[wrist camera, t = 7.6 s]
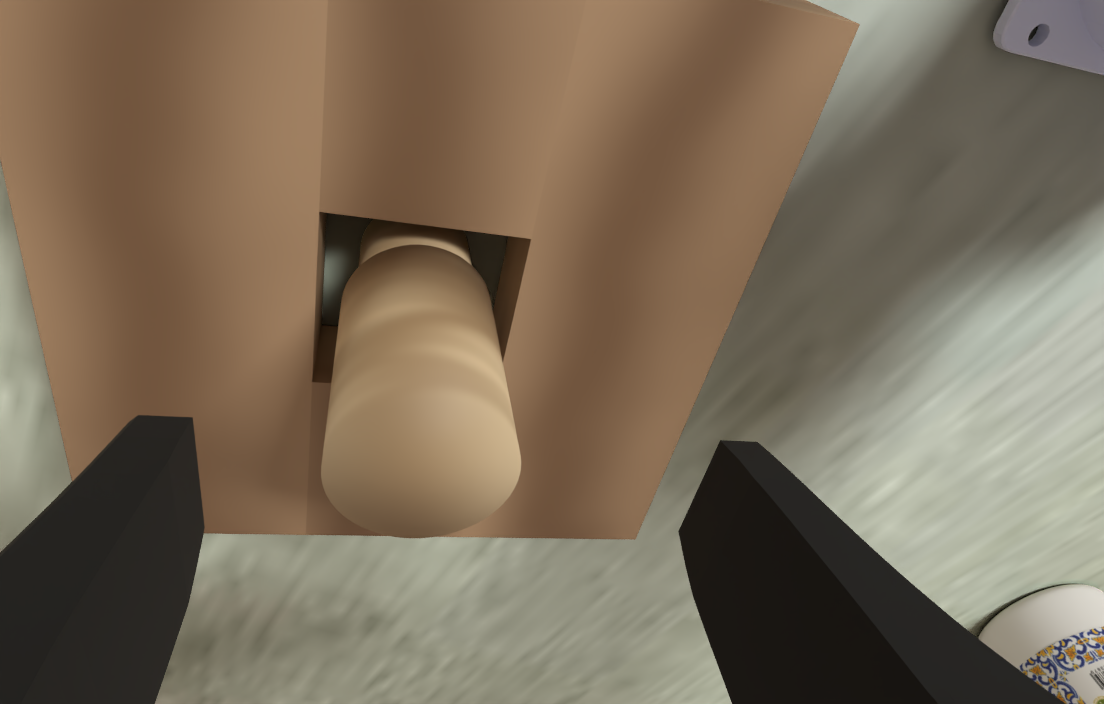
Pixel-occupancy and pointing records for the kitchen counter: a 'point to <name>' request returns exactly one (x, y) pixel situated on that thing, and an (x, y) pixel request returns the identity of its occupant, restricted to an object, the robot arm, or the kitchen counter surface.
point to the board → (399, 216)
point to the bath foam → (1055, 640)
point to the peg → (418, 389)
